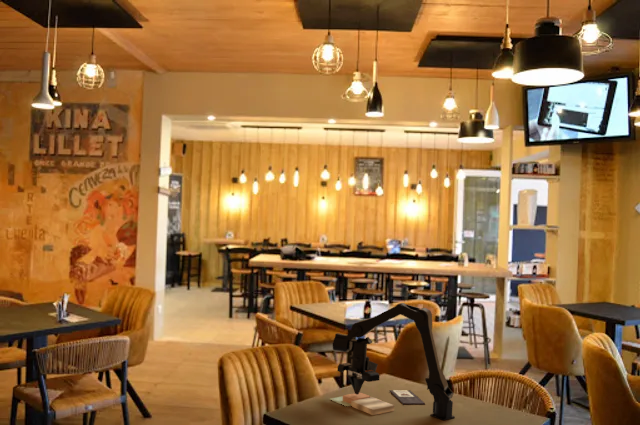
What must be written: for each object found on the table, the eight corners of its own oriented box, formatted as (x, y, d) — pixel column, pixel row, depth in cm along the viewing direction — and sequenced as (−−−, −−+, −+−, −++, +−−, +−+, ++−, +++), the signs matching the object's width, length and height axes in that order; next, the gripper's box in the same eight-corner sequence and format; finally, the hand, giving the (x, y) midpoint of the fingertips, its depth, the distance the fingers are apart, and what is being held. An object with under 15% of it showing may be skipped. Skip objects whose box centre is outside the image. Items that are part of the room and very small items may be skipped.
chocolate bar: (403, 403, 238) (389, 390, 256) (403, 405, 238) (389, 392, 256) (425, 403, 240) (410, 390, 258) (425, 405, 240) (410, 392, 258)
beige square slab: (394, 410, 230) (394, 405, 230) (372, 415, 223) (372, 409, 223) (372, 402, 239) (372, 397, 239) (350, 406, 232) (351, 401, 232)
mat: (375, 401, 241) (375, 400, 241) (346, 406, 232) (346, 405, 232) (358, 394, 249) (358, 393, 249) (329, 399, 239) (329, 398, 239)
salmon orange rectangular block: (370, 401, 239) (370, 396, 239) (352, 404, 233) (353, 399, 233) (359, 397, 243) (360, 392, 243) (342, 400, 238) (342, 395, 238)
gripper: (390, 357, 236) (388, 397, 236) (358, 347, 251) (356, 385, 250) (369, 359, 229) (367, 401, 229) (337, 349, 244) (335, 389, 244)
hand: (356, 394), depth 238 cm, fingers closed
